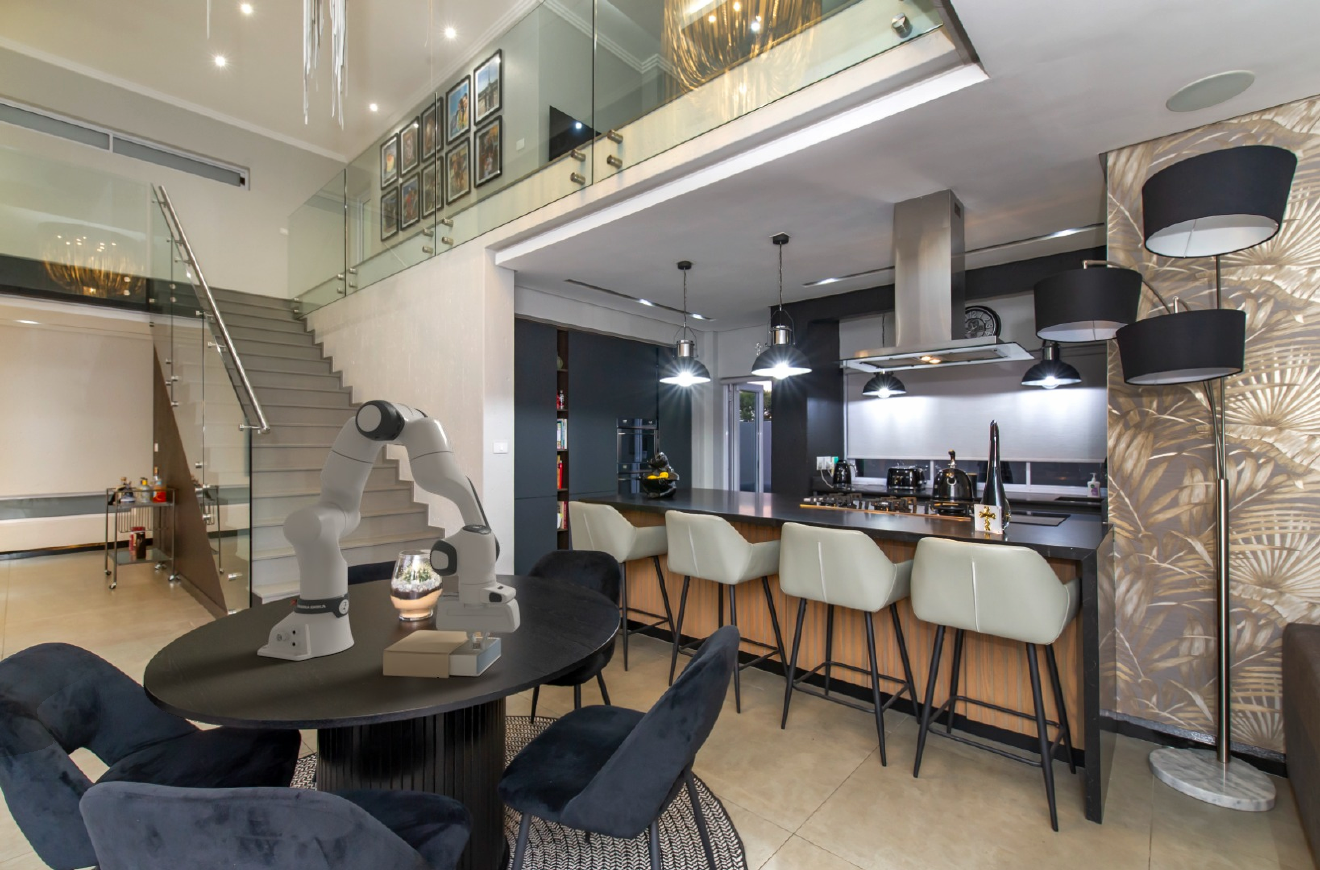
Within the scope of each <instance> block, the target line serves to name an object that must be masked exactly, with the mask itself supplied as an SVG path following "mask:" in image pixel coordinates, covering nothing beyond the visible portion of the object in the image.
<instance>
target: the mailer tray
mask: <svg viewBox="0 0 1320 870" xmlns="http://www.w3.org/2000/svg"><path fill="white" fill-rule="evenodd" d="M475 638H476V640H477V641H481V640H482V638H483V637H475ZM501 656H502V638H501V637H488V638H487V639H486V641H485V649H484V650H471V643H470V641H469V640H467V641H466V642H465V643H463V644H462V645H461V646H459V647H458V648H456V649H455V650H454V651H452V652H451V653H450V654H449V676H466V677H469V676H470V677H480V675H482V674H483V673H484V672H485V671H486V670H487V669H488V668H489V667H490V666H492V664H494V663H495V662H496V661H497V660H498V659H499V658H500V657H501Z"/></svg>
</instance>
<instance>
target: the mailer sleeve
mask: <svg viewBox="0 0 1320 870" xmlns="http://www.w3.org/2000/svg"><path fill="white" fill-rule="evenodd" d="M474 636H475V637H476V632H475V634H474ZM467 640H468V638H467V636H466V632H462V631H439V630H431V629H430V630H427V629H417V630H415V631H414V632H412V633H410V634H409V635H408V636H407V635H406V636H405V637H403V638H402V639H400V640H399V641H397V642H395V643H393V644H391V645H390V646H388V647H386V648H384V649H383V650H382V655H383V656H382V657H383V658H382V669H383V670H382V675H383V676H391V677H392V676H394V677H397V676H398V677H414V678H415V677H416V678H417V677H419V678H437V677H439V678H440V679H448V678H450V675H449V654H450V653H451V652H452V651H454V650H455V649H456V648H458V647H459V646H461V645H462V644H463V643H465V642H466V641H467ZM439 678H438V679H439Z"/></svg>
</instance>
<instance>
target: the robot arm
mask: <svg viewBox="0 0 1320 870" xmlns="http://www.w3.org/2000/svg"><path fill="white" fill-rule="evenodd" d="M451 442H452V441H451V440H450V437H449V434H448V432H447V430H446V428H445V426H444V423H443V422H442V421H441V420H439V419H438V418H434V417H430V416H428V415H427V414H426V413H425V412H423V411H422V410H420V409H418V408H413V407H411V406H408V405H406V404H403V403H399V402H398V403H396V402H391V401H387V400H385V399H384V400H383V399H374V400H369V401H366V402H364V403H363V404H362V405H360V407H359V408H358V409H357V411H356V413H355V416H351V417H350V418H349V419H348V420H347V421H346V422H345V424H343V427H342V428H341V430H340V431H339V433H338V434H337V436H336V438H335V440H334V441H333V444H332V446H331V448H330V451H329V452H328V456H327V458H326V460H325V463H324V465H323V467H322V469H321V472H320V475H319V479H320V482H321V489H320V493H319V499H318V500H317V502H315V503H311V504H306V505H303V506H300V507H298V508H297V509H295V510H294V511H292V512H291V513H289V514H288V516H286V517H285V519H284V522H283V525H282V526H283V527H282V532H283V535H284V537H285V539H286V540H287V541H288V542H289V543H290V544H291V545H292V548H293V549H294V552H295V553H294V554H295V555H296V559H297V562H298V563H297V564H298V567H299V568H298V569H299V596H298V597H296V598H295V599H293V600H291V601H289V602H290V604H289V606H294V607H293V609H292V611H291V612H290V613H289V614H288V615H287V616H286V617H284V618H283V619H282V620H280V621H279V622H278V623H277V624H275V625H273V627H272V628H271V630H270V633H269V636H268V643H267V644H264V645H263V646H261V647H260V648H259V649H257V656H261V657H262V656H263V657H269V658H270V657H271V658H277V659H282V660H283V659H284V660H291V661H303V660H307V659H311V658H315V657H323V656H328V655H329V656H330V655H332V654H333V655H334V654H336V653H339V652H342V651H345V650H347V649H349V648H351V647H353V645H354V644H355V640H354V637H353V635H352V631H351V625H350V618H349V610H350V591H349V590H348V583H349V581H348V574H349V573H348V569H349V568H348V565H349V564H348V562H347V560H346V559H344V557H343V554H342V552H341V547H340V544H339V541H340V539H344V538H345V537H347V536H350V534H352V533H353V532H354V531H355V530H356V529H357V528H358V526H359V525H360V523H361V519H362V518H361V512H360V507H361V504H362V503H361V502H362V496H363V492H364V490H365V486H366V484H367V481H368V480H369V479H368V478H369V476H370V475H371V472H372V469H373V466H374V464H375V462H376V460H377V457H378V454H379V453H380V450H381V449H382V447H384V446H386V445H387V444H388V445H393V446H404V447H405V449H406V451H407V452H406V453H407V457H408V463H409V467H410V472H411V476H412V478H413V479H414V483H415V484H416V485H417V486H418V487H419V488H421V489H422V490H423V491H425V492H428V493H429V494H434V495H437V496H440V497H443V498H446V499H447V500H449V501H451V502H453V503H454V504H455V506H456V507H457V508H458V510H459V513H460V515H461V517H462V520H463V523H464V525H463V526H462V527H460V529H459V530H458V532H456V533H453V534H452V535H449V536H447V537H444V538H441V539H439V540H436V541H435V542H434V543H433V545H432V547H431V548H430V553H429V564H430V567H431V569H432V571H434V573H435V574H437V575H438V576H439V577H440V576H441V577H453V576H458V591H443V592H442V593H441V594H438V596H437V600H436V604H437V606H436V607H437V611H436V619H435V620H436V621H435V627H436V629H437V631H462V632H466V636H467V638H468V640H469V641H470V643H471V650H484V649H485V641H486V639H487V638H489V637H490V636H489V634H490V635H491V633H514V632H515V631H516V630H518V628H519V627H520V625H521V618H520V617H521V615H520V607H519V604H518V601H517V599H515V597H516V593H517V590H516V588H514V587H511V586H508V585H507V584H506V585H505V584H504V583H500V582H498V581H497V575H496V571H495V567H496V563H497V561H498V560H499V556H500V554H501V548H500V547H501V546H500V543H499V540H498V538H497V537H496V534H494V530H492V528H491V526H490V523H489V521H488V519H487V516H486V514H485V511H484V509H483V506H482V503H481V501H480V498H479V495H478V493H477V491H476V489H475V486H474V484H473V482H472V480H471V479H470V478H469V477H468V476H466V475H465V473H464V472H463V470H461V468H460V466H459V464H458V462H457V460H456V456H455V453H454V449H453V446H452V443H451ZM475 632H481V636H483V638H482V640H481V641H477V640H476V638H475V636H474V634H475ZM488 636H489V637H488Z"/></svg>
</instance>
